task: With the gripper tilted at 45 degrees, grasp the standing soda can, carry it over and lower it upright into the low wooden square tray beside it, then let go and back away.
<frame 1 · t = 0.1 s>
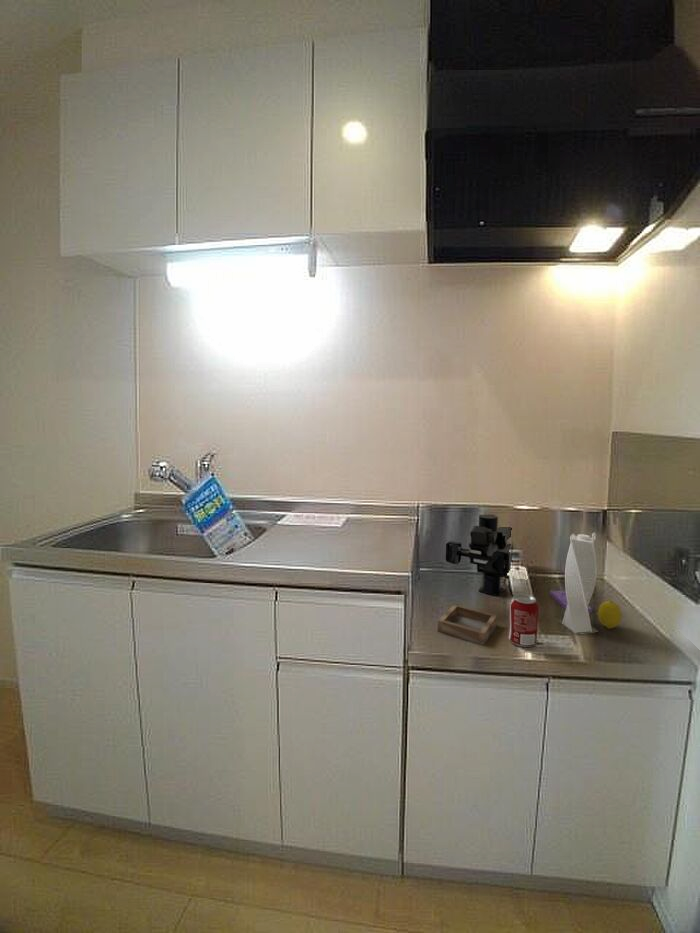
hand: (467, 565, 119), 17 cm above the worktop, tool horizontal, fingers open, 9 cm apart
wooden square tray: (467, 628, 117), on the worktop
soda can: (521, 642, 110), on the worktop
sponges: (569, 604, 134), on the worktop
skyscraper: (577, 629, 117), on the worktop
lemon: (608, 629, 117), on the worktop
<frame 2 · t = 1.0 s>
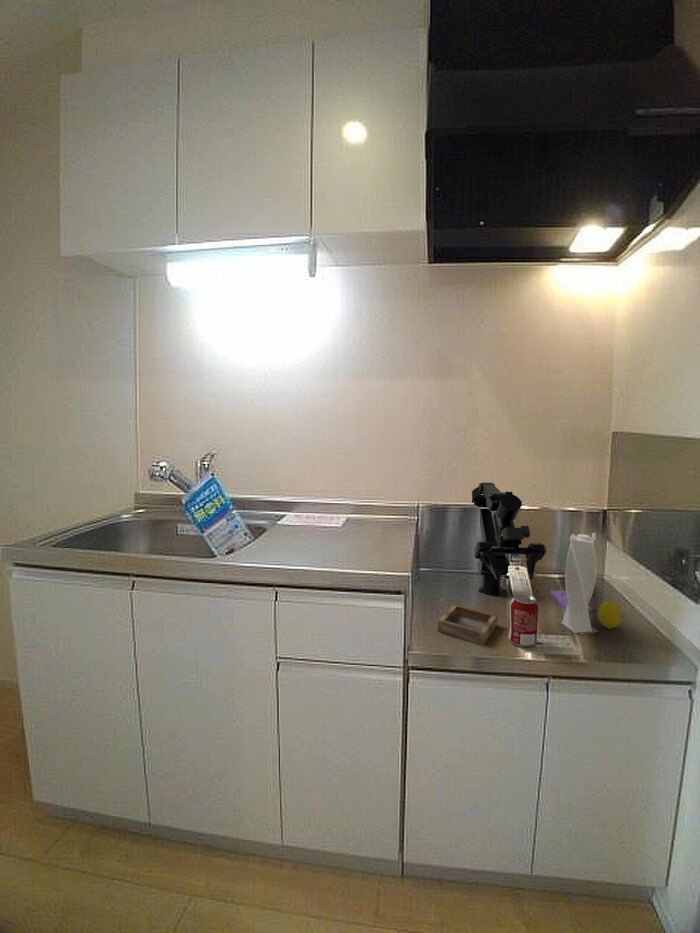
hand: (514, 579, 116), 14 cm above the worktop, tool tilted 45°, fingers open, 9 cm apart
nothing on the worktop moved.
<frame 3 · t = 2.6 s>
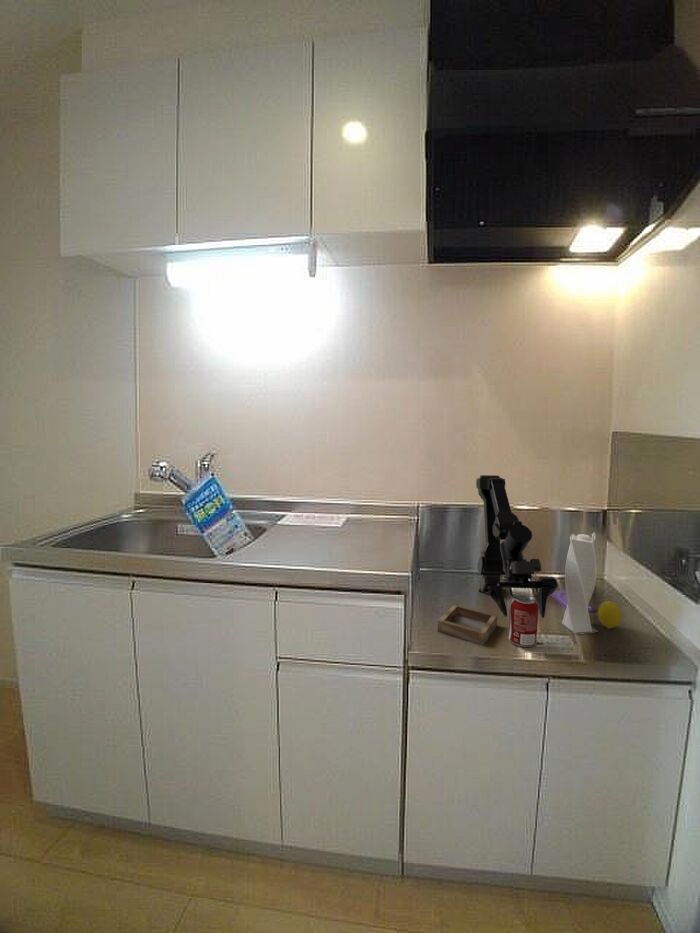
hand: (524, 616, 109), 7 cm above the worktop, tool tilted 45°, fingers open, 9 cm apart
nothing on the worktop moved.
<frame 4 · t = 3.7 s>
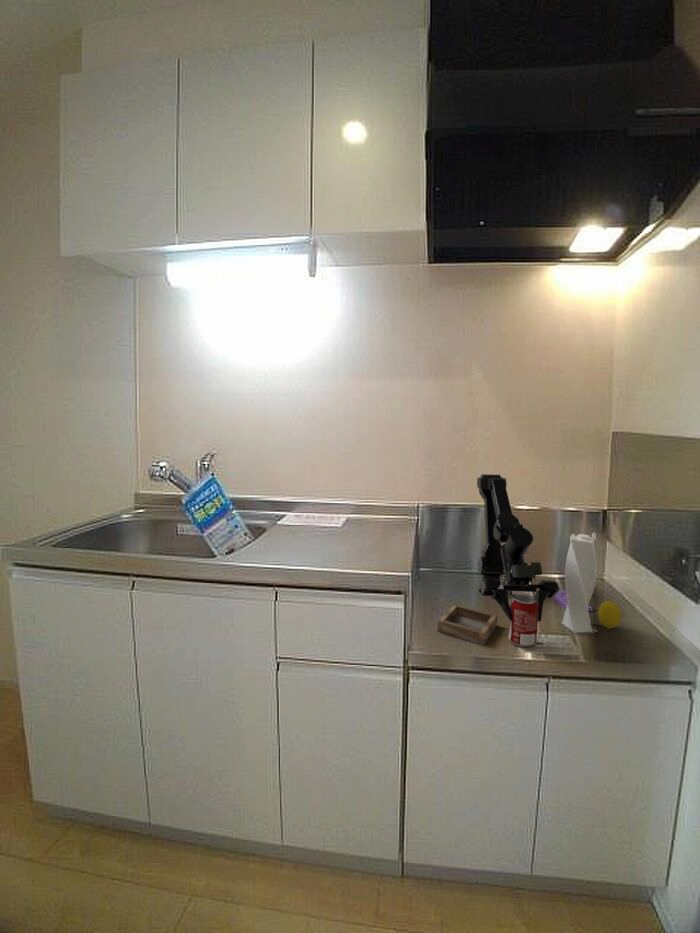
hand: (525, 620, 108), 7 cm above the worktop, tool tilted 45°, fingers closed on soda can, 7 cm apart
soda can: (521, 642, 110), on the worktop, touching gripper
everything else where it was.
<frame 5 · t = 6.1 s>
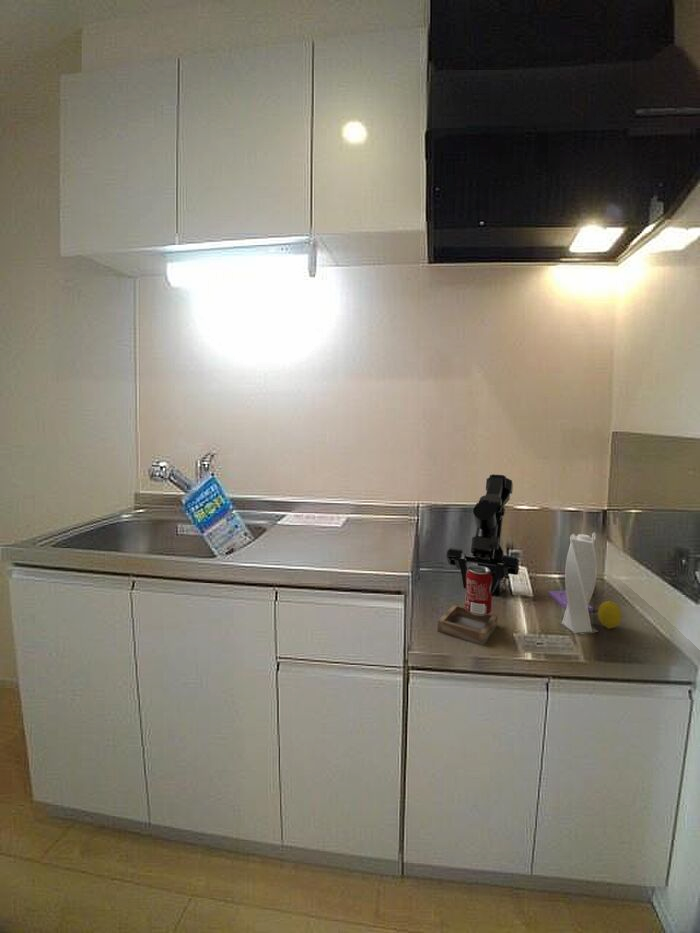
hand: (477, 590, 113), 12 cm above the worktop, tool tilted 45°, fingers closed on soda can, 7 cm apart
soda can: (477, 612, 115), point 5 cm above the worktop, touching gripper
everything else where it was.
when the fingers open (8 cm above the worktop, at t = 8.3 s): soda can drops 1 cm, resting on wooden square tray.
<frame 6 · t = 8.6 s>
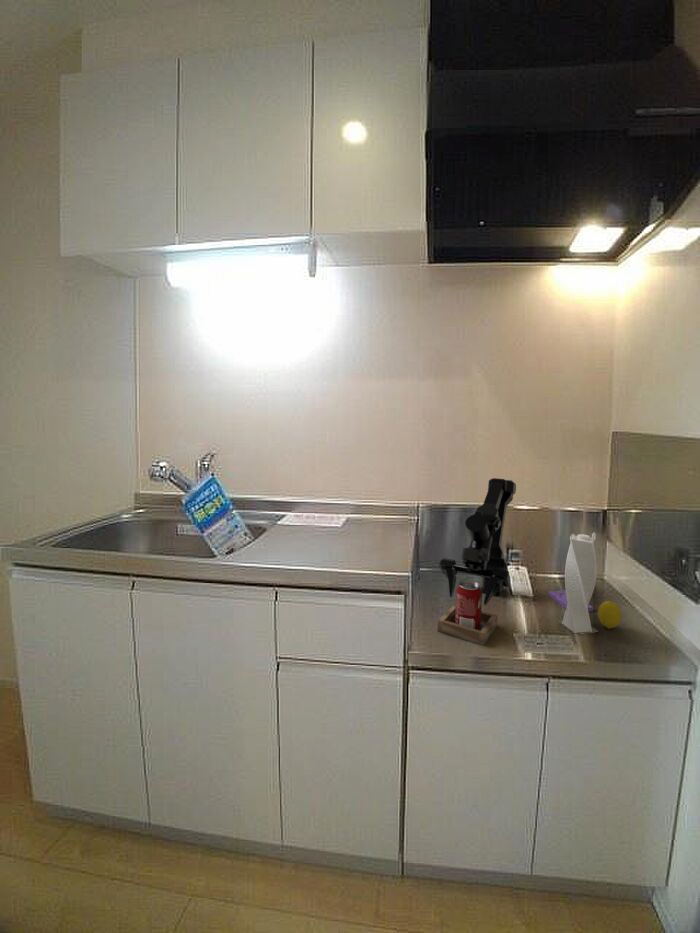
hand: (467, 600, 115), 9 cm above the worktop, tool tilted 45°, fingers open, 9 cm apart
soda can: (467, 626, 117), resting on wooden square tray
everything else where it was.
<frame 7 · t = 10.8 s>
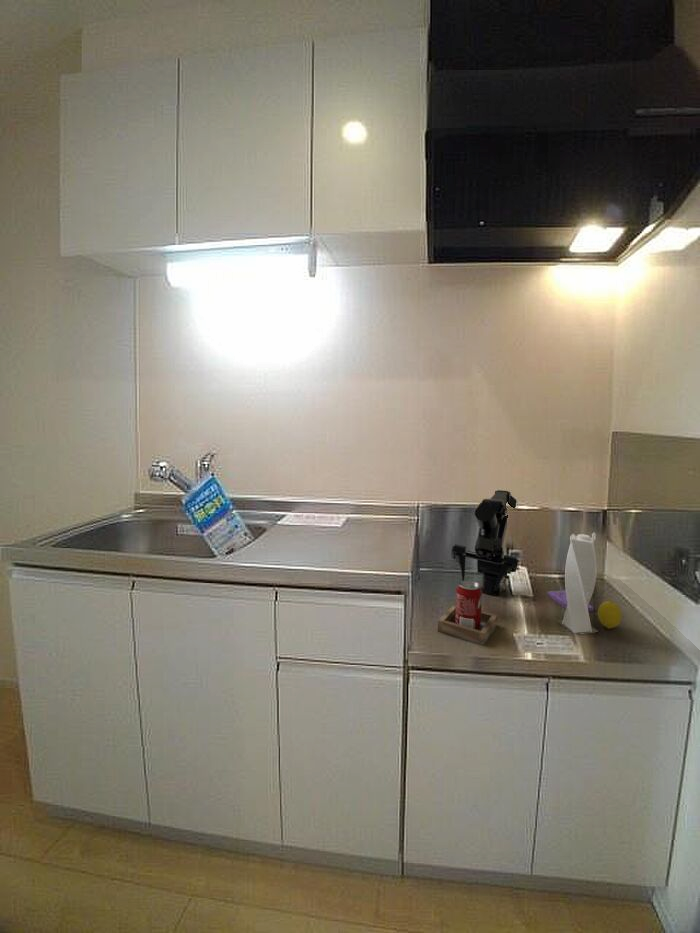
hand: (479, 585, 123), 9 cm above the worktop, tool tilted 40°, fingers open, 9 cm apart
nothing on the worktop moved.
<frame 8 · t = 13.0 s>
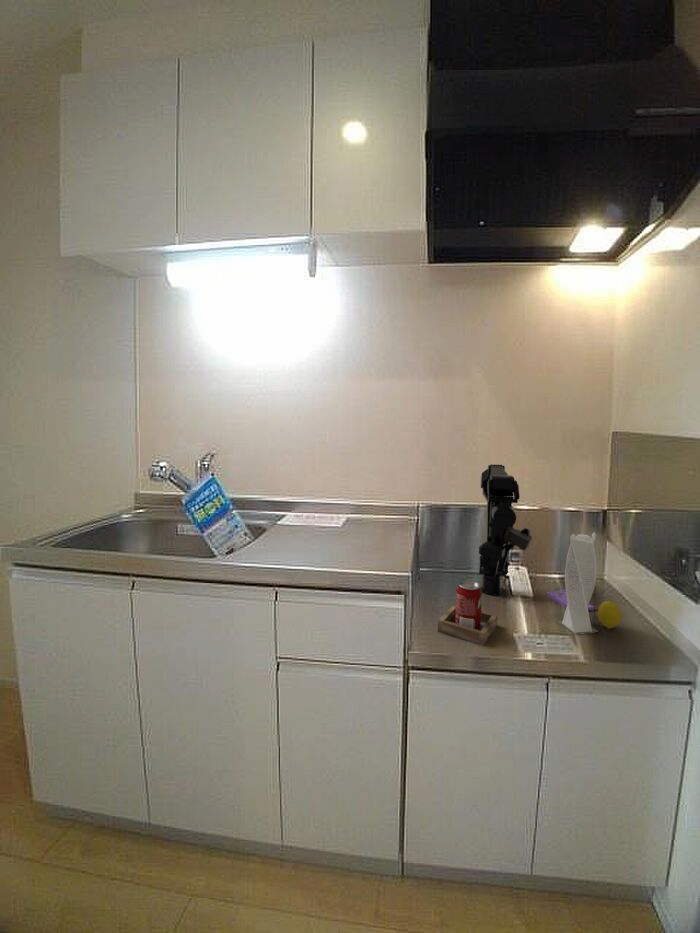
hand: (497, 571, 124), 13 cm above the worktop, tool pointing down, fingers open, 9 cm apart
nothing on the worktop moved.
at the end: soda can 0.1 cm off-centre on the wooden square tray, point 0.3 cm above the wooden square tray's base; soda can tilted 0°; the gripper is holding nothing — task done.
